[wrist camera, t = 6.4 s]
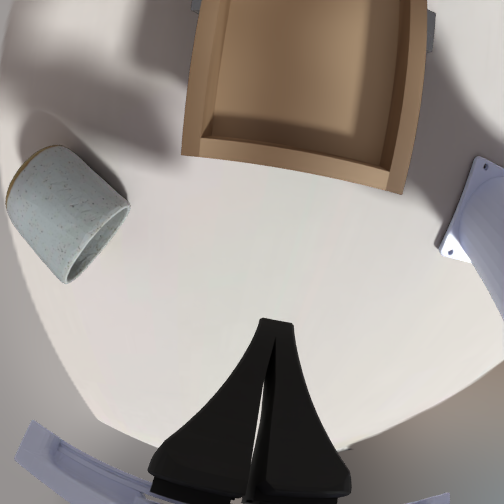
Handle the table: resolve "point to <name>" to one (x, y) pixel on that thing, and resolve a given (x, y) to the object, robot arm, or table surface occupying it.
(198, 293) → the table surface
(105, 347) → the table surface
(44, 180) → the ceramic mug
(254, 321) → the table surface
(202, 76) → the tilt ramp
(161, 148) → the table surface
